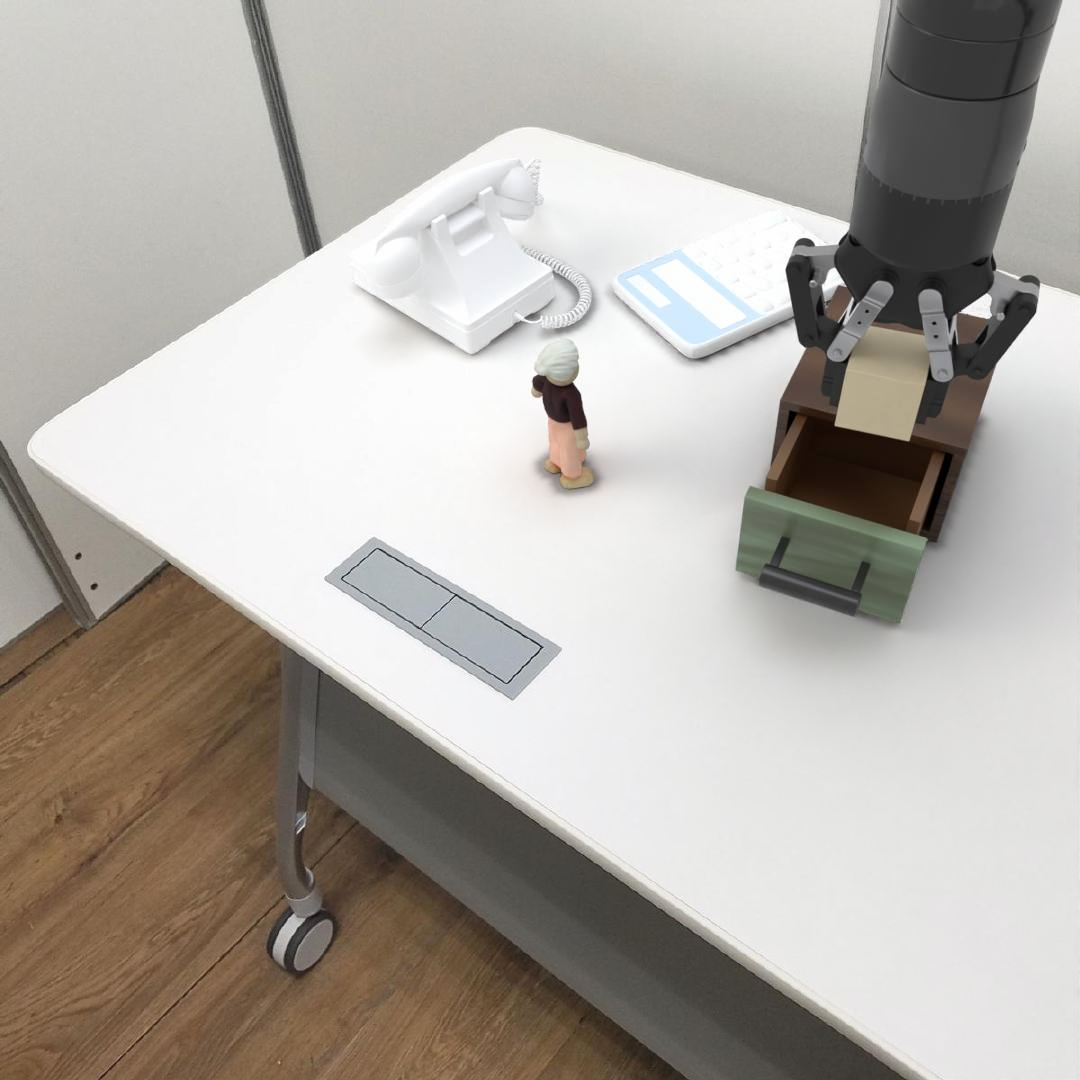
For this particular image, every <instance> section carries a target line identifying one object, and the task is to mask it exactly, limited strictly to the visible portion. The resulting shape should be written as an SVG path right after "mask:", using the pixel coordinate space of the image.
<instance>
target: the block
mask: <svg viewBox="0 0 1080 1080" xmlns="http://www.w3.org/2000/svg"><path fill="white" fill-rule="evenodd" d="M929 366H930V359H929V352H927V351H926V344H925V337H924V336H923V335H918V334H912V333H907V332H901V331H896V330H890V329H885V328H879V327H874V326H870V327H869V328H868V330H867V331H866V333H865V334H864V336H863V337H862V339H859V340H858V342H857V343H856V345H855V346H854V348H853V349H852V352H851V355H850V359H849V362H848V365H847V369H846V373H845V378H844V383H843V387H842V392H841V397H840V402H839V407H838V411H837V416H836V421H835V426H838V427H842V428H847V429H852V430H857V431H862V432H866V433H871V434H876V435H881V436H885V437H890V438H895V439H900V440H905V441H910V437H911V434H912V430H913V427H914V423H915V420H916V416H917V413H918V409H919V405H920V402H921V398H922V395H923V391H924V388H925V384H926V380H927V375H928V371H929Z"/></svg>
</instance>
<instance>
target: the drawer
mask: <svg viewBox="0 0 1080 1080" xmlns="http://www.w3.org/2000/svg"><path fill="white" fill-rule="evenodd" d="M946 455H947V452H943V451H939V450H935V449H932V448H928V447H924V446H920V445H917V444H913V443H909V442H906V441H902V440H898V439H894V438H890V437H885V436H881V435H876V434H871V433H866V432H862V431H857V430H852V429H847V428H842V427H838V426H835V422H831V421H827V420H824V419H820V418H816V417H813V416H809V415H805V414H801V413H797V415H796V417H795V419H794V421H793V423H792V425H791V427H790V429H789V431H788V433H787V435H786V437H785V439H784V442H783V444H782V446H781V448H780V450H779V452H778V454H777V456H776V458H775V460H774V462H773V464H772V466H771V465H770V466H771V468H770V467H769V470H768V472H767V474H766V476H765V481H764V489H763V488H760V487H756V486H752V485H749V487H748V489H747V491H746V493H745V495H744V498H743V507H742V514H741V522H740V530H739V537H738V546H737V553H736V561H735V571H736V572H739V573H743V574H745V575H748V576H752V577H754V578H758V581H757V586H758V587H760V588H764V589H767V590H768V591H769V590H770V591H773V592H775V593H778V594H781V595H785V596H788V597H791V598H794V599H798V600H800V601H803V602H806V603H810V604H813V605H816V606H819V607H822V608H825V609H828V610H832V611H834V612H836V613H841V614H843V615H846V616H850V617H853V618H855V617H856V616H857V613H858V611H860V612H863V613H866V614H869V615H872V616H876V617H878V618H881V619H885V620H887V621H890V622H894V623H896V624H901V622H902V620H903V616H904V613H905V610H906V608H907V604H908V601H909V598H910V594H911V592H912V588H913V585H914V582H915V580H916V576H917V574H918V570H919V567H920V564H921V561H922V558H923V554H924V552H925V548H926V546H927V542H928V539H927V538H925V537H922V536H919V535H920V532H921V530H922V527H923V524H924V521H925V518H926V515H927V512H928V510H929V507H930V504H931V501H932V498H933V495H934V492H935V490H936V487H937V483H938V480H939V477H940V474H941V471H942V468H943V464H944V461H945V458H946Z"/></svg>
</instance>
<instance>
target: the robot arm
mask: <svg viewBox="0 0 1080 1080" xmlns="http://www.w3.org/2000/svg"><path fill="white" fill-rule="evenodd" d="M1063 1H1064V0H897V1H896V6H895V12H894V17H893V22H892V28H891V33H890V39H889V43H888V49H887V53H886V57H885V62H884V67H883V70H882V74H881V76H880V79H879V82H878V85H877V88H876V91H875V95H874V97H873V101H872V103H871V109H870V114H869V121H868V123H867V129H866V137H865V142H864V147H863V152H862V157H861V162H860V168H859V174H858V179H857V184H856V189H855V195H854V201H853V205H852V210H851V216H850V221H849V226H848V230H847V232H846V233H845V234H844V235H843V236H842V237H841V238H840V239H839V241H838V243H837V244H828V245H827V246H815V244H814V242H813V241H812V240H810V239H808V238H801V239H799V240H797V241H796V243H795V245H794V248H793V250H792V253H791V255H790V258H789V261H788V263H787V266H786V269H785V271H786V277H787V282H788V287H789V293H790V298H791V303H792V309H793V314H794V316H793V319H794V324H795V329H796V335H797V340H798V343H799V344H800V345H801V346H803V347H804V348H812V347H815V346H816V347H818V348H820V349H822V350H823V351H824V352H825V354H826V364H825V369H824V374H823V380H822V385H821V391H822V394H823V396H828V397H830V402H829V405H830V406H835V407H839V402H840V397H841V392H842V387H843V383H844V378H845V373H846V369H847V365H848V362H849V359H850V355H851V352H852V349H853V348H854V346H855V345H856V343H857V342H858V340H859V339H862V337H863V336H864V334H865V333H866V331H867V330H868V328H869V327H870V325H871V324H872V322H878V323H884V324H889V323H900V324H902V325H905V326H907V327H910V328H912V329H917V330H922V331H924V337H925V344H926V351H927V352H929V359H930V366H929V371H928V375H927V380H926V384H925V388H924V391H923V395H922V398H921V402H920V405H919V409H918V413H917V416H916V420H915V423H918V424H923V425H925V422H926V418H927V417H931V418H936V417H937V416H938V415H939V414H940V413H941V410H942V406H943V403H944V400H945V396H946V393H947V390H948V386H949V383H950V381H951V380H952V379H953V378H955V377H957V376H961V375H967V376H968V377H969V378H971V379H974V380H981V379H984V378H985V377H987V375H988V374H989V373H990V372H991V370H992V369H993V368H994V366H995V365H996V366H997V364H998V363H999V361H1000V360H1001V359H1002V358H1003V356H1004V355H1005V354H1006V352H1008V350H1009V349H1010V348H1011V346H1012V344H1013V343H1014V342H1015V341H1016V340H1017V338H1018V337H1019V336H1020V335H1021V333H1022V332H1023V331H1024V330H1025V328H1026V327H1027V325H1028V324H1029V323H1030V322H1031V320H1032V319H1034V317H1035V315H1036V314H1037V311H1038V304H1039V299H1040V298H1039V297H1040V289H1041V281H1040V279H1039V278H1038V277H1037V276H1035V275H1032V274H1026V275H1023V276H1021V277H1019V278H1015V277H1013V276H1010V275H1008V274H1005V273H1003V272H1001V271H999V270H997V262H996V260H995V257H994V249H995V246H996V245H995V244H996V242H997V239H998V235H999V232H1000V229H1001V226H1002V222H1003V218H1004V215H1005V212H1006V209H1007V205H1008V202H1009V199H1010V196H1011V193H1012V189H1013V186H1014V182H1015V179H1016V176H1017V173H1018V169H1019V167H1020V163H1021V159H1022V157H1023V154H1024V153H1025V150H1026V147H1027V142H1028V137H1029V134H1030V130H1031V125H1032V122H1033V118H1034V113H1035V108H1036V107H1035V106H1036V100H1037V99H1036V98H1037V92H1038V86H1039V82H1040V78H1041V74H1042V71H1043V68H1044V65H1045V61H1046V58H1047V56H1048V51H1049V48H1050V45H1051V41H1052V38H1053V35H1054V32H1055V28H1056V25H1057V22H1058V19H1059V15H1060V12H1061V8H1062V4H1063ZM832 268H836V270H837V271H838V273H839V275H840V276H841V278H842V280H843V282H844V283H845V285H846V287H847V288H848V290H849V292H850V293H851V295H852V299H851V301H850V303H849V305H848V307H847V308H846V310H845V312H844V313H843V315H842V316H841V318H840V319H839V321H838V322H836V321H834V320H832V319H830V318H828V317H827V314H826V308H827V306H826V302H825V301H824V295H823V289H822V284H824V283H825V281H826V278H827V275H828V272H829V270H830V269H832ZM985 295H988V296H990V298H991V301H990V307H989V312H990V314H991V316H990V317H989V318H988V319H989V320H988V321H987V323H986V324H985V325H984V327H983V328H982V329H981V331H980V332H979V333H978V335H977V336H976V338H975V339H974V340H973V342H972V343H966V344H958V336H957V328H956V320H957V313H961V312H962V311H963V310H965V309H966V308H968V307H970V305H972V304H973V303H975V302H977V301H978V300H979V299H981V298H982V297H983V296H985Z"/></svg>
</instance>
